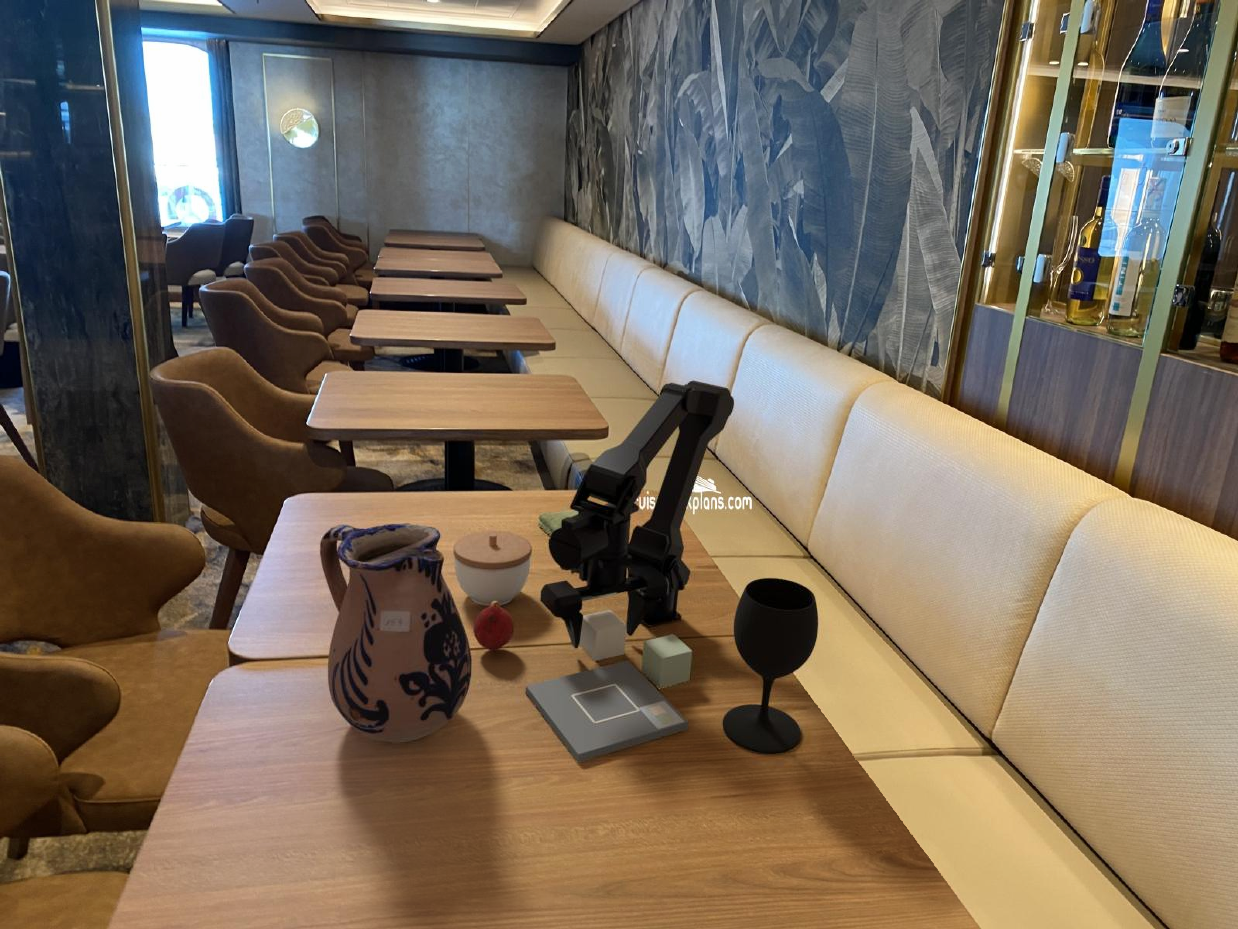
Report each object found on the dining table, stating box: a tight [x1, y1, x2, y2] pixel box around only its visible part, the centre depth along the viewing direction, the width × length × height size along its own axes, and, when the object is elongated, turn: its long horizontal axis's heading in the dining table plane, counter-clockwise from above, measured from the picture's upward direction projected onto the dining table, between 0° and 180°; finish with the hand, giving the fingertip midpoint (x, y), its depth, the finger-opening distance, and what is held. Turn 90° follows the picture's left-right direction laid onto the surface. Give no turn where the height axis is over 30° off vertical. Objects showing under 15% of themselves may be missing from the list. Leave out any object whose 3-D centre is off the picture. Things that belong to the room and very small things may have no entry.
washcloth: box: [537, 509, 578, 538], centre depth 171 cm, size 13×18×3 cm
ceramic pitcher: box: [319, 522, 473, 743], centre depth 109 cm, size 18×21×25 cm
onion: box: [473, 601, 515, 652], centre depth 128 cm, size 6×6×8 cm
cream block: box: [579, 609, 627, 662], centre depth 131 cm, size 5×5×5 cm
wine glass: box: [722, 577, 819, 755], centre depth 112 cm, size 10×10×20 cm
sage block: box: [641, 634, 693, 689], centre depth 125 cm, size 5×5×5 cm
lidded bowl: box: [453, 530, 533, 607], centre depth 144 cm, size 13×13×11 cm
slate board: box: [525, 660, 689, 763], centre depth 117 cm, size 16×16×1 cm
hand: (602, 640), depth 131 cm, fingers open, 9 cm apart
